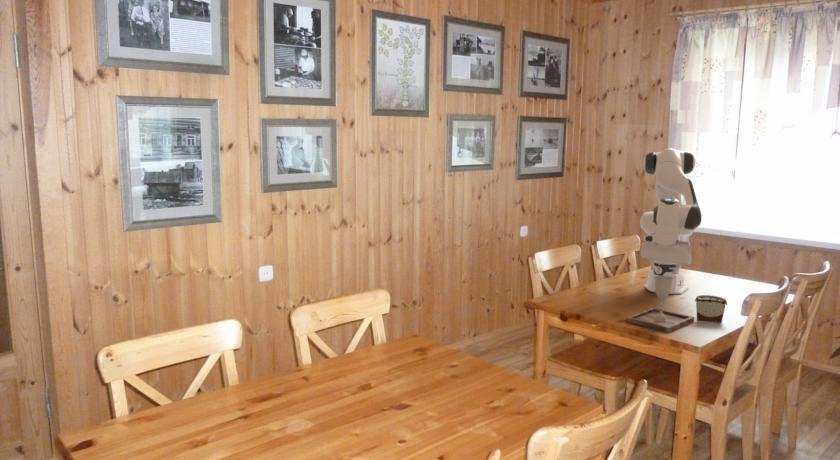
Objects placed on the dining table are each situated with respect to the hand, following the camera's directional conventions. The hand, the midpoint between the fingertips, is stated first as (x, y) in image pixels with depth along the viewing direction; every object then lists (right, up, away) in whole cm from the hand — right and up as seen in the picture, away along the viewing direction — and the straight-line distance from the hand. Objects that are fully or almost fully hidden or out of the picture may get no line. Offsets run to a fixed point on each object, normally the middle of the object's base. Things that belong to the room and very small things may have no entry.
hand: (664, 271), depth 255 cm
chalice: (0, -20, +3) cm, 21 cm away
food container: (+21, -21, +7) cm, 30 cm away
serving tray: (0, -21, +3) cm, 21 cm away
